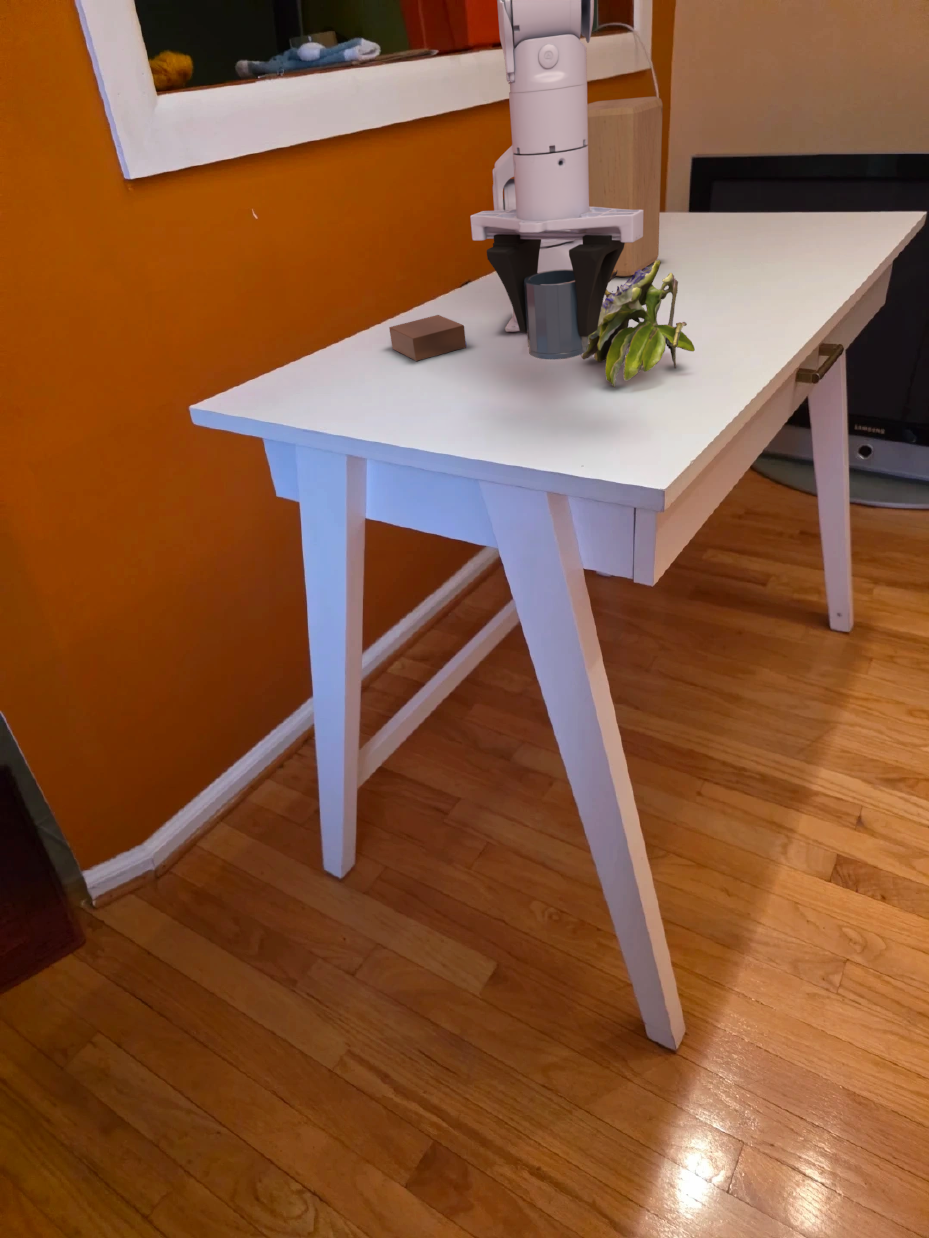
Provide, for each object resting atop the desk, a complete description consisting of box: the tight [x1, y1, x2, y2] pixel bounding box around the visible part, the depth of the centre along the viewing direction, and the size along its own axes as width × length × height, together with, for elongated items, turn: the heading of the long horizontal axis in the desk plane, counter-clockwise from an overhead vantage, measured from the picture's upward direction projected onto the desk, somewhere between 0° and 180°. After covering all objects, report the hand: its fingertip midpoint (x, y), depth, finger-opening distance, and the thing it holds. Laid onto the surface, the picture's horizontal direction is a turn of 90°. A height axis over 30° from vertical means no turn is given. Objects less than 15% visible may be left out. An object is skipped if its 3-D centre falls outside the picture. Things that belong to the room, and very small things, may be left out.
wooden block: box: [587, 95, 664, 278], centre depth 109 cm, size 10×10×20 cm
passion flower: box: [580, 259, 696, 388], centre depth 79 cm, size 11×11×12 cm
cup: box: [524, 269, 589, 360], centre depth 69 cm, size 5×5×6 cm
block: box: [388, 314, 467, 362], centre depth 93 cm, size 6×6×2 cm
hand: (557, 330), depth 70 cm, fingers closed on cup, 5 cm apart
